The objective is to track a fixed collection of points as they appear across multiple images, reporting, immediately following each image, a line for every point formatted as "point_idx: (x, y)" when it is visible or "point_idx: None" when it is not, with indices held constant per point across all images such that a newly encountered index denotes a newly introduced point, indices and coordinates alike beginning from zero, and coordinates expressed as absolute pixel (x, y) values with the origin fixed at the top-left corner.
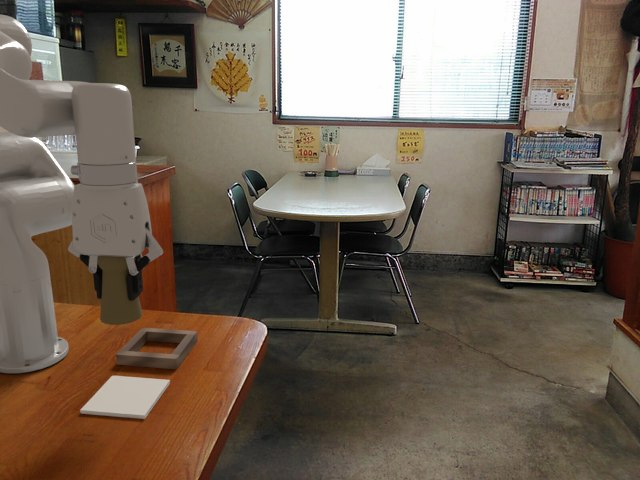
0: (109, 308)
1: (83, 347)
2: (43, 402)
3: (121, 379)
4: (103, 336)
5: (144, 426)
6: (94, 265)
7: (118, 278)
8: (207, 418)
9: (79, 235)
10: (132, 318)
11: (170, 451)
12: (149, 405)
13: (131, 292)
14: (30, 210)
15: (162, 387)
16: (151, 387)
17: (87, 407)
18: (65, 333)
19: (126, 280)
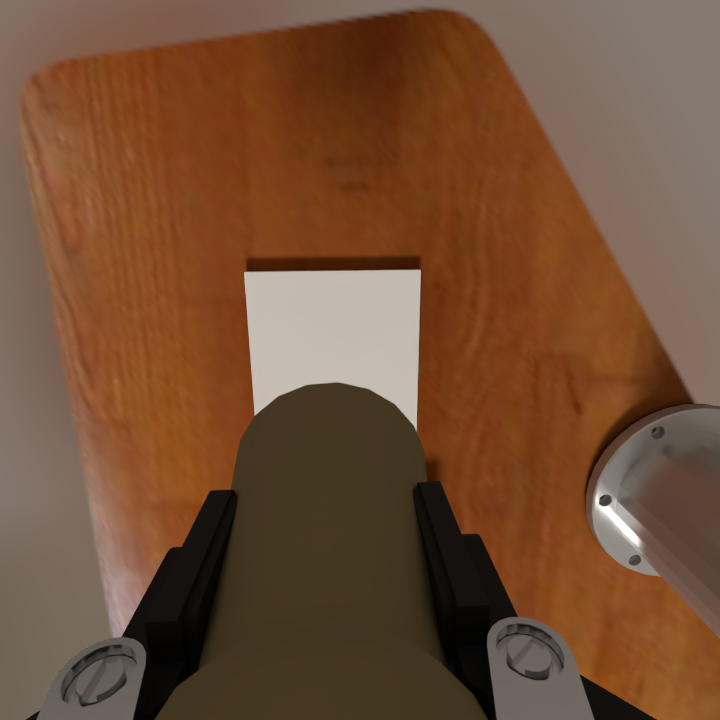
0: (340, 425)
1: (560, 550)
2: (536, 301)
3: None
4: (534, 607)
5: (232, 241)
6: (522, 693)
7: (256, 584)
8: (89, 298)
9: None
10: (245, 436)
11: (115, 149)
12: (253, 316)
13: (195, 520)
14: None
15: (259, 399)
16: None
17: (407, 282)
18: (639, 604)
19: (204, 588)
